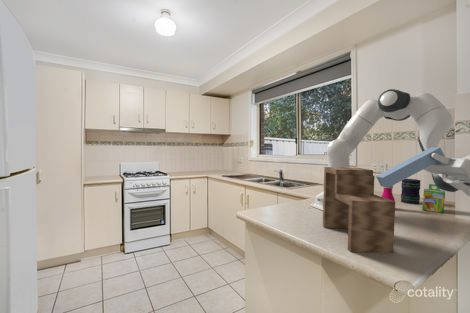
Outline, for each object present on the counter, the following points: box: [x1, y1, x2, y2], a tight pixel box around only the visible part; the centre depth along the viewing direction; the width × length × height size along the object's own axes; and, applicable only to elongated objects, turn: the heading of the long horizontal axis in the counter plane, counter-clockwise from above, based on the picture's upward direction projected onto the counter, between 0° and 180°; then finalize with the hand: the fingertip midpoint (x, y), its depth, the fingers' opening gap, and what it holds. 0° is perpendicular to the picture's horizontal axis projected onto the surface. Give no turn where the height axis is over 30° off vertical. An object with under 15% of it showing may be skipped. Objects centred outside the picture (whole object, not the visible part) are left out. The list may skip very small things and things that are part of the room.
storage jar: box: [400, 178, 421, 205], centre depth 150 cm, size 10×10×15 cm
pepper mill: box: [380, 185, 396, 202], centre depth 134 cm, size 7×7×20 cm
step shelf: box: [322, 166, 396, 254], centre depth 88 cm, size 14×25×26 cm, turn 179°
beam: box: [375, 146, 446, 188], centre depth 82 cm, size 22×4×4 cm, turn 88°
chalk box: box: [421, 183, 446, 214], centre depth 131 cm, size 9×9×15 cm
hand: (425, 154), depth 81 cm, fingers closed on beam, 4 cm apart
